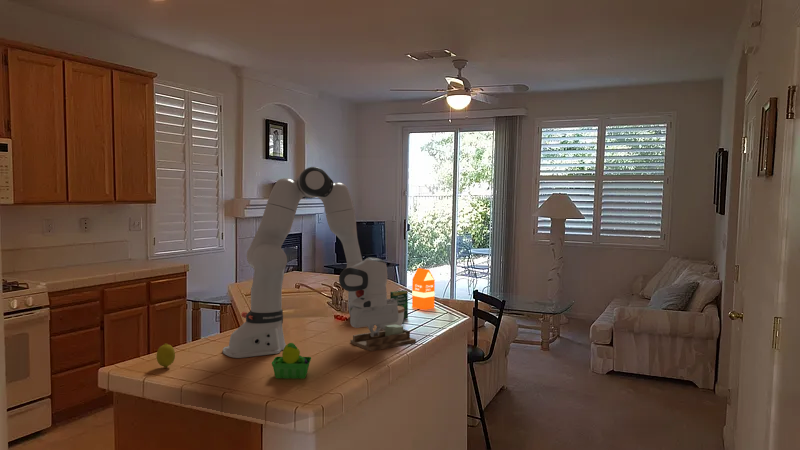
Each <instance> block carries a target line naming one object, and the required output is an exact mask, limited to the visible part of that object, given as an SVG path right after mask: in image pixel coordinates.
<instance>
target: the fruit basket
mask: <svg viewBox="0 0 800 450" xmlns="http://www.w3.org/2000/svg"><path fill="white" fill-rule="evenodd" d="M300 354H301V352H300V349H299V348H298V346H296V344H295V343H293V342H289V343H288V344H286V346H285V347H284V349H283V350H282V355H281V356H275V357H274V359H273V360H272V361H271V366H272V368H273V369H272V370H273V373H274V376H275V379H292V380H293V379H295V380H296V379H299V380H301V379H302V380H303V379H305V378H306V377H307V374H308V370H309V367H310V363H311V361H312V357H311V356H303V355H300Z"/></svg>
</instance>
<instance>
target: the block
mask: <svg viewBox="0 0 800 450" xmlns="http://www.w3.org/2000/svg"><path fill="white" fill-rule="evenodd" d="M403 329H404V326H402V325H401V326H400V325H396V324H394V325H388V326H385V330H384V331H385V336H389V335H395V334H400V333H403Z"/></svg>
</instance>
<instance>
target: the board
mask: <svg viewBox="0 0 800 450" xmlns="http://www.w3.org/2000/svg"><path fill="white" fill-rule="evenodd" d="M351 343H352V345H355V346H356V347H359V348H362V349H364V350H366V351H370V352H373V351H379V350H384V349H389V348H394V347H398V346H404V345H405V346H406V345H409V344H414V343H415V344H416V343H417V339H416V338H413V337H411V331H410V330H407V329H404V328H403V333H400V334H395V335H389V336H385V330H380V332H379V336H376V337H371V336H370V332H365V333H359V334H354V335H353V334H352V339H350V344H351Z"/></svg>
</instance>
